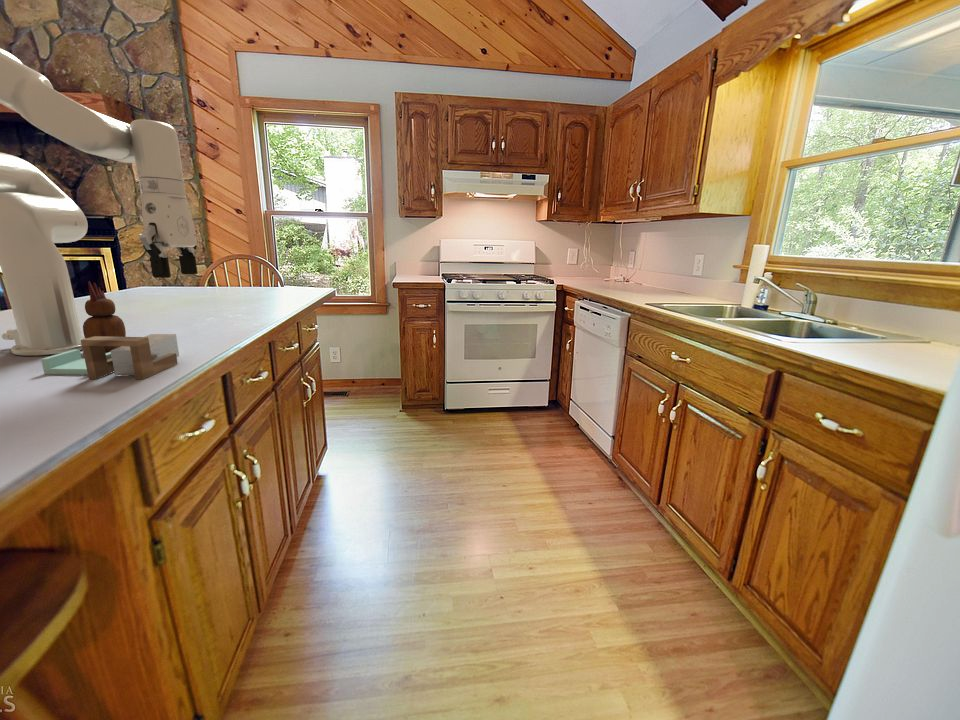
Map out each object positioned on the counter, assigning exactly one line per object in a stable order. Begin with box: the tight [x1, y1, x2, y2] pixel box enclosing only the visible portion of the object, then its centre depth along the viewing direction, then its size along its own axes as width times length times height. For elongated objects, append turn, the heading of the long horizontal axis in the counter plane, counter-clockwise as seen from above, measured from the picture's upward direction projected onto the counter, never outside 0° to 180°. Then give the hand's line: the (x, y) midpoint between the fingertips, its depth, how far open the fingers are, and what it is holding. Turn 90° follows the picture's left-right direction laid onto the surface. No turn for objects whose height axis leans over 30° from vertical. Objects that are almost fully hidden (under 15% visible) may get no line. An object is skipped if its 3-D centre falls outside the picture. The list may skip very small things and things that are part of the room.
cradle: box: [40, 349, 112, 375], centre depth 80 cm, size 9×7×3 cm
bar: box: [110, 333, 180, 375], centre depth 83 cm, size 5×14×5 cm, turn 13°
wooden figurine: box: [82, 280, 127, 353], centre depth 91 cm, size 7×6×15 cm
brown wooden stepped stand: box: [81, 336, 179, 380], centre depth 79 cm, size 9×10×7 cm
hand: (176, 275), depth 91 cm, fingers open, 9 cm apart
